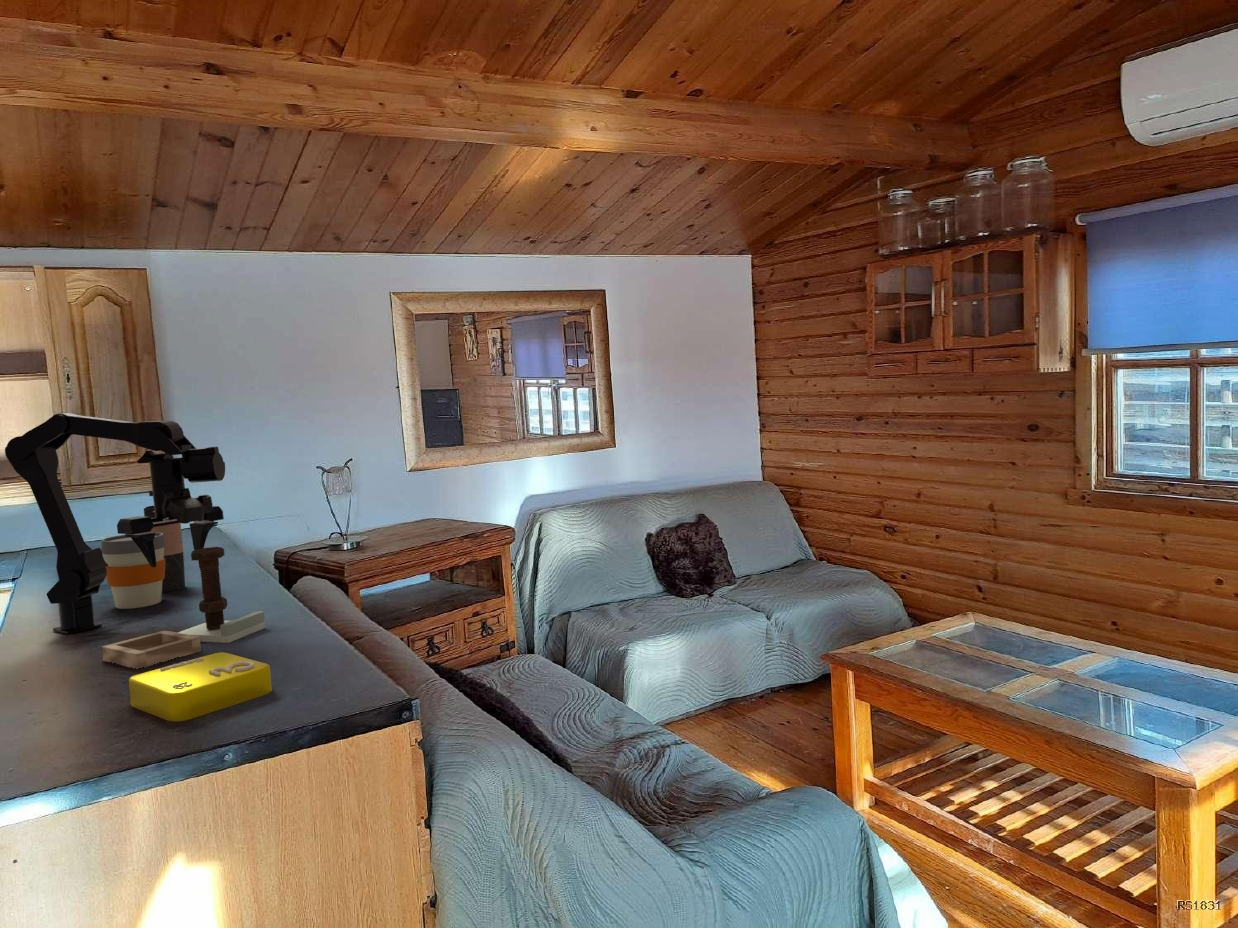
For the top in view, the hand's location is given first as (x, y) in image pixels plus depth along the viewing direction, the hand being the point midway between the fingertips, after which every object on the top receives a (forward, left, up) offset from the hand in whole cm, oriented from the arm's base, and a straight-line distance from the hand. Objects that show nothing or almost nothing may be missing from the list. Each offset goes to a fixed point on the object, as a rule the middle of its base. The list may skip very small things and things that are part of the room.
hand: (176, 562), depth 173 cm
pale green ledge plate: (+16, -2, -12) cm, 20 cm away
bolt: (+15, -3, -11) cm, 19 cm away
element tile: (+47, -25, -13) cm, 54 cm away
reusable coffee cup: (-27, +6, -12) cm, 30 cm away
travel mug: (-36, +18, -12) cm, 42 cm away
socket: (+18, -16, -12) cm, 27 cm away
